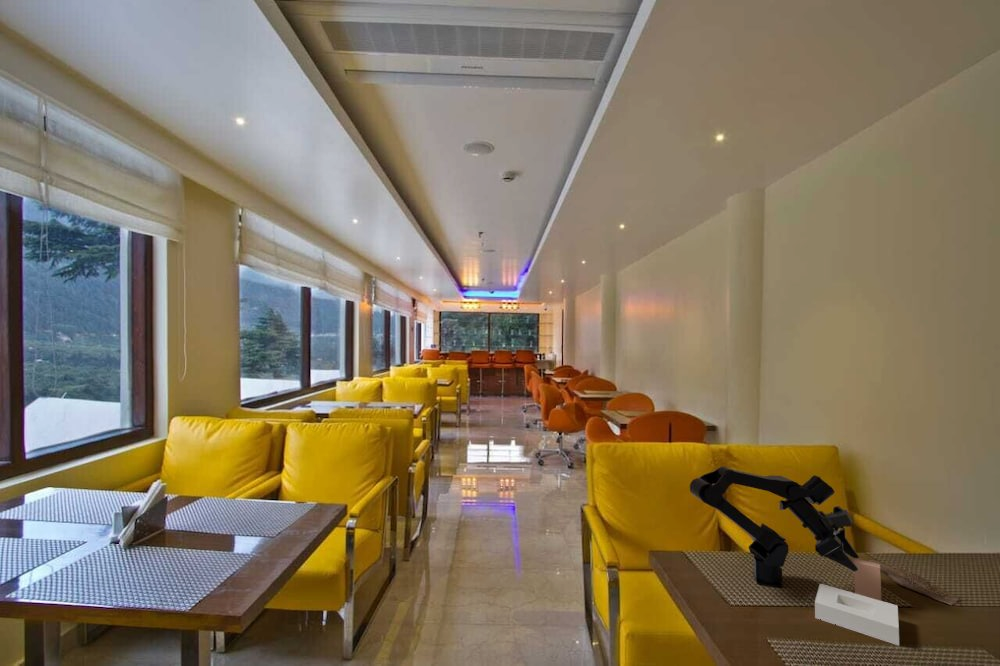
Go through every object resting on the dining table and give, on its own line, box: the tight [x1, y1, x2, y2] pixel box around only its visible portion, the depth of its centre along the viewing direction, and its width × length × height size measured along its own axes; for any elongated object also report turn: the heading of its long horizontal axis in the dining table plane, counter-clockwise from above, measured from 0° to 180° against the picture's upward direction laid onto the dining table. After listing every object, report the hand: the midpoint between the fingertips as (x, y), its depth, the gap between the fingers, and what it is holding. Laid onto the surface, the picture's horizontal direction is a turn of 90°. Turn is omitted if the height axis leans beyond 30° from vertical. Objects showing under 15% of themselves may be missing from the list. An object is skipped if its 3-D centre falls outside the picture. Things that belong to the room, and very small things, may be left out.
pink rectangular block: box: [853, 558, 882, 601], centre depth 121 cm, size 6×3×10 cm, turn 49°
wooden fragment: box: [868, 559, 960, 607], centre depth 130 cm, size 26×11×1 cm, turn 178°
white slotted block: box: [814, 583, 900, 646], centre depth 112 cm, size 16×12×4 cm
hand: (856, 564), depth 123 cm, fingers open, 9 cm apart
